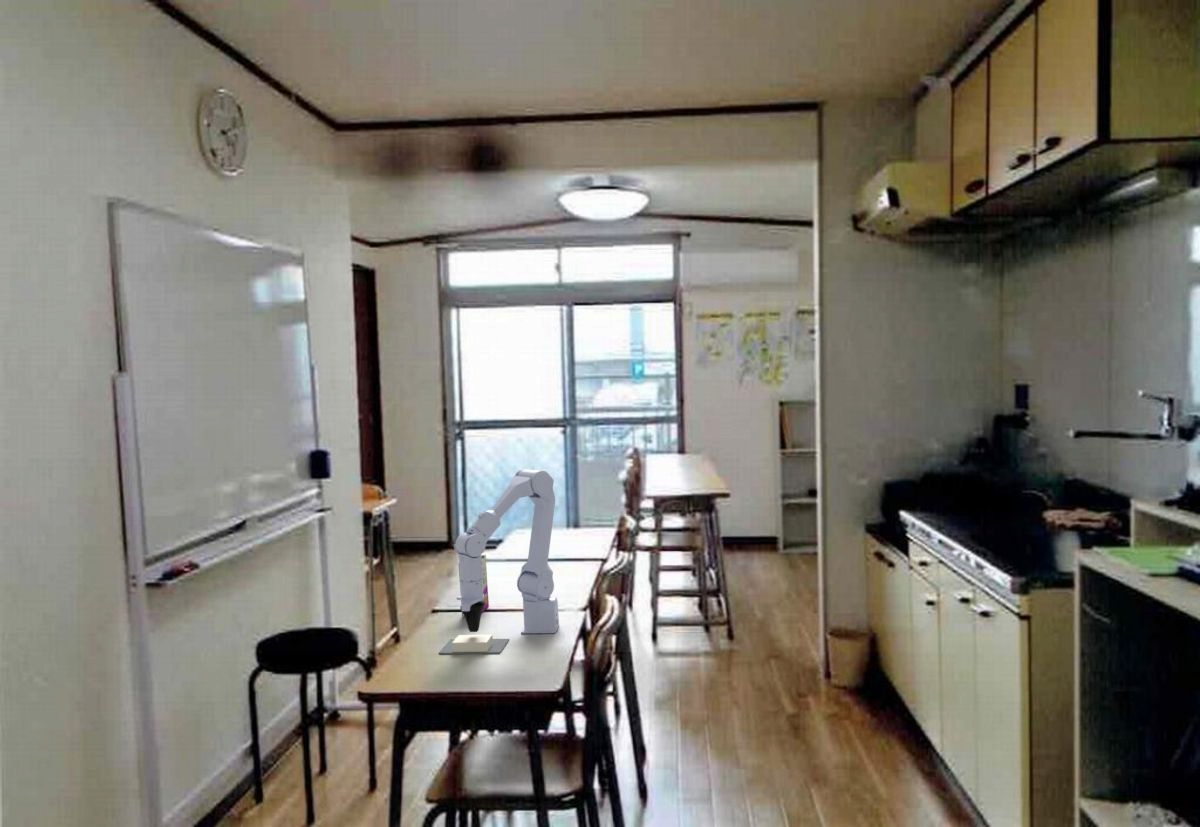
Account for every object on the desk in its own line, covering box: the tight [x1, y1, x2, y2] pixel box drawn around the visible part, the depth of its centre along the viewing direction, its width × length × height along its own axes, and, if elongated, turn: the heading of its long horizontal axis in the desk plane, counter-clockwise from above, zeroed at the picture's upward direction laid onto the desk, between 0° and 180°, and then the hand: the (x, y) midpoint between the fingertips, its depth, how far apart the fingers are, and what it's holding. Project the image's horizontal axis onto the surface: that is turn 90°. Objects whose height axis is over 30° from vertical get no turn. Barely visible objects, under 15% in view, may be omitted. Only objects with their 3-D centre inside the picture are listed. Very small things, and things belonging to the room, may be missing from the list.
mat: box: [438, 638, 510, 655], centre depth 229 cm, size 16×11×1 cm
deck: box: [452, 634, 494, 652], centre depth 227 cm, size 9×2×6 cm
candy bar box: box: [458, 553, 490, 618], centre depth 262 cm, size 11×5×16 cm, turn 168°
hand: (474, 631), depth 229 cm, fingers closed
